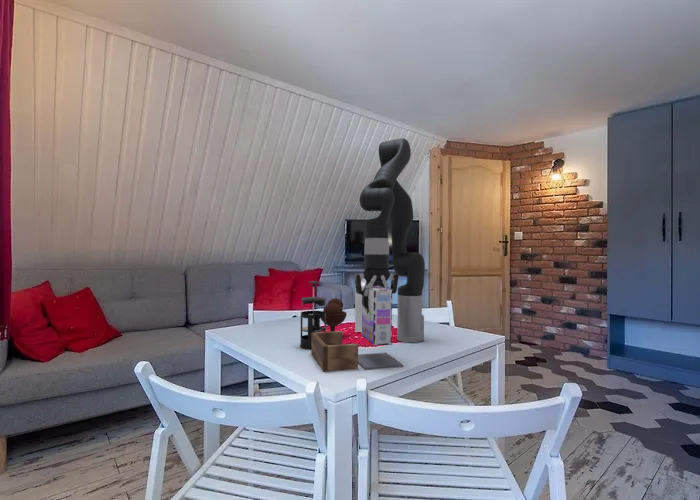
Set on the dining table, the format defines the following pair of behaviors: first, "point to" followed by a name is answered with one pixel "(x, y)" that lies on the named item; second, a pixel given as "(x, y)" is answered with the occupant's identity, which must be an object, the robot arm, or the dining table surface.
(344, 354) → the holder
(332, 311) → the ice cream bowl
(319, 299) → the french press
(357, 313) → the milk
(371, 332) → the candy box
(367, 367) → the mat
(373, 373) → the dining table surface
